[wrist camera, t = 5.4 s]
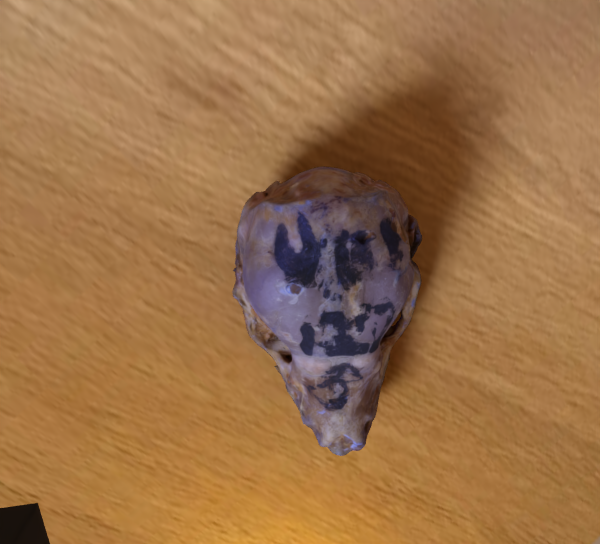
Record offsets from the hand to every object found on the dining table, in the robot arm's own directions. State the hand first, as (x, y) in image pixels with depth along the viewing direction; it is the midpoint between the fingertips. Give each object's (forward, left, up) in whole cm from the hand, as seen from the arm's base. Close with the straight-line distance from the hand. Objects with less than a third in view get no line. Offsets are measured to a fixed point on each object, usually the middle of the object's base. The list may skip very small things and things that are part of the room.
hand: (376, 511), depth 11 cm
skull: (0, 0, -14) cm, 14 cm away
